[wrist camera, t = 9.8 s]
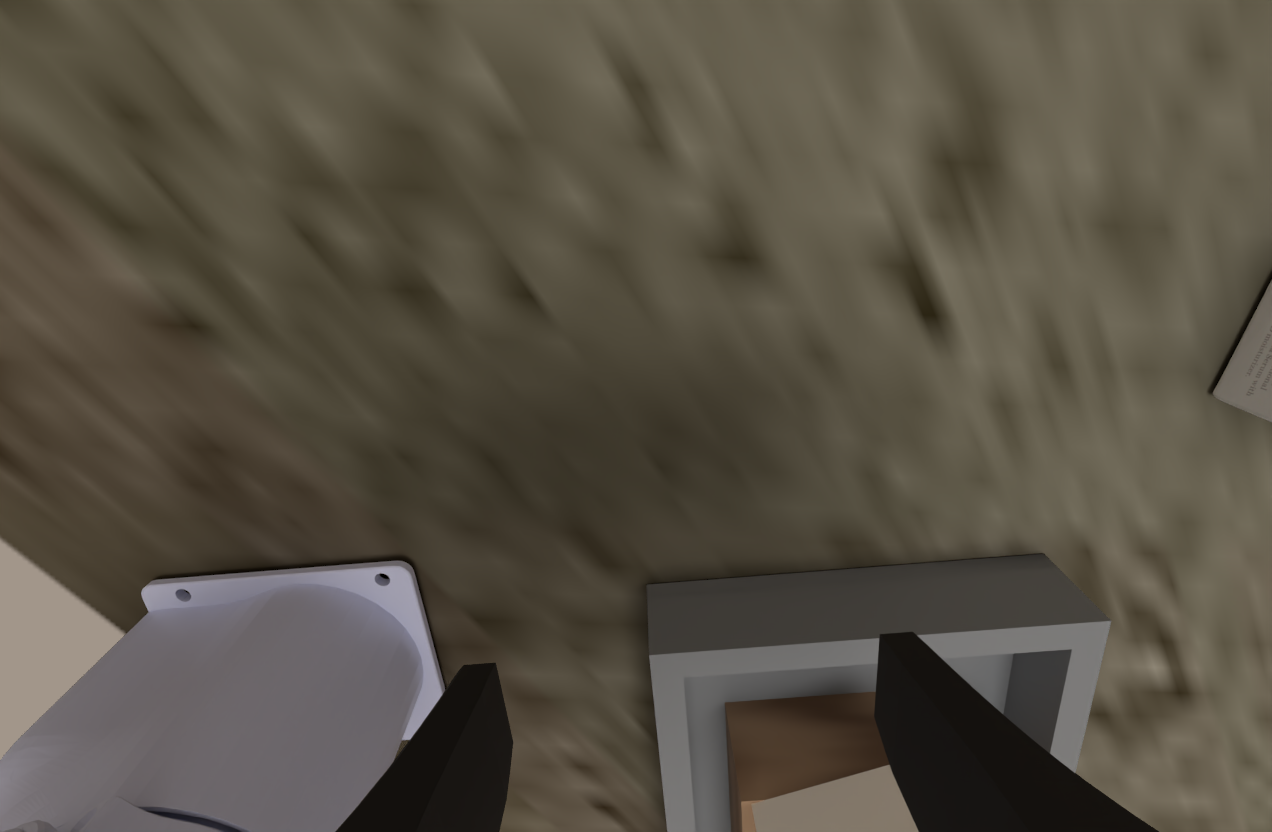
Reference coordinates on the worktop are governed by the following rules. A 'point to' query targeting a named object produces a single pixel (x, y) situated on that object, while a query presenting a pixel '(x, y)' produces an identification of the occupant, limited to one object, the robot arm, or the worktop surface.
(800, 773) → the walnut block
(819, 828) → the cream lidded carton
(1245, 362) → the skincare box
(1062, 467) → the worktop surface
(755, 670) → the tote
